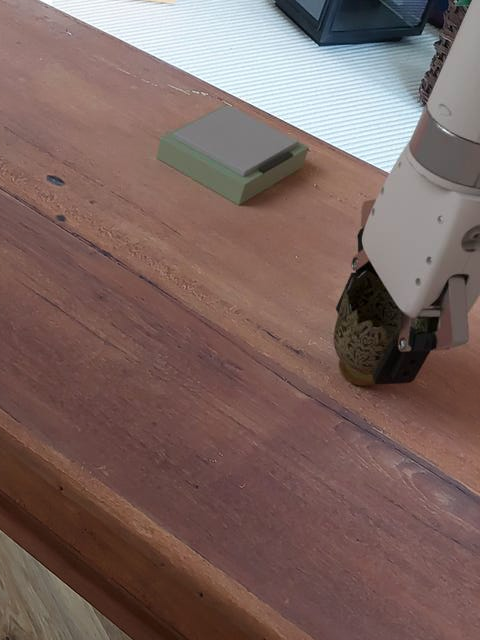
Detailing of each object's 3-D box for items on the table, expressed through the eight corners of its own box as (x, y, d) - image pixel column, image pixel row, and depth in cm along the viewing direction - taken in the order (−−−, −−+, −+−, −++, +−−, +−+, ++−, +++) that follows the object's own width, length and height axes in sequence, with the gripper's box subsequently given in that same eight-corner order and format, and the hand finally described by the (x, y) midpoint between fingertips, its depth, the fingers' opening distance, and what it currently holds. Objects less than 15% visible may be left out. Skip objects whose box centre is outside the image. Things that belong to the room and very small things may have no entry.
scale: (302, 167, 94) (311, 141, 92) (238, 205, 89) (246, 178, 87) (220, 124, 99) (227, 98, 97) (156, 158, 94) (161, 131, 92)
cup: (333, 331, 78) (367, 256, 71) (415, 368, 75) (457, 293, 69) (299, 379, 74) (331, 303, 67) (384, 419, 71) (426, 345, 65)
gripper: (596, 221, 53) (462, 422, 67) (467, 78, 64) (375, 276, 78) (479, 225, 52) (368, 427, 66) (369, 79, 63) (293, 279, 77)
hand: (372, 344), depth 72 cm, fingers closed on cup, 7 cm apart
